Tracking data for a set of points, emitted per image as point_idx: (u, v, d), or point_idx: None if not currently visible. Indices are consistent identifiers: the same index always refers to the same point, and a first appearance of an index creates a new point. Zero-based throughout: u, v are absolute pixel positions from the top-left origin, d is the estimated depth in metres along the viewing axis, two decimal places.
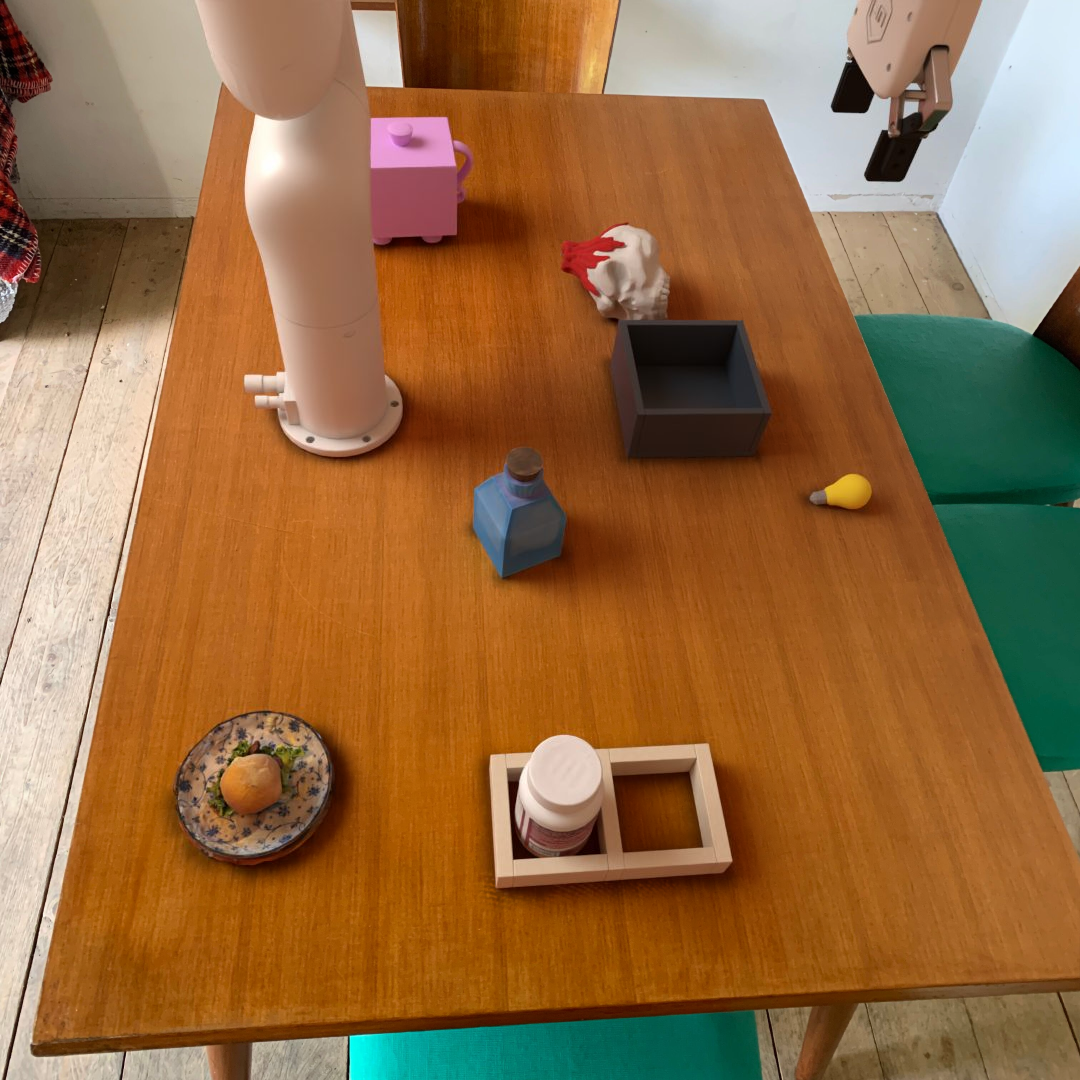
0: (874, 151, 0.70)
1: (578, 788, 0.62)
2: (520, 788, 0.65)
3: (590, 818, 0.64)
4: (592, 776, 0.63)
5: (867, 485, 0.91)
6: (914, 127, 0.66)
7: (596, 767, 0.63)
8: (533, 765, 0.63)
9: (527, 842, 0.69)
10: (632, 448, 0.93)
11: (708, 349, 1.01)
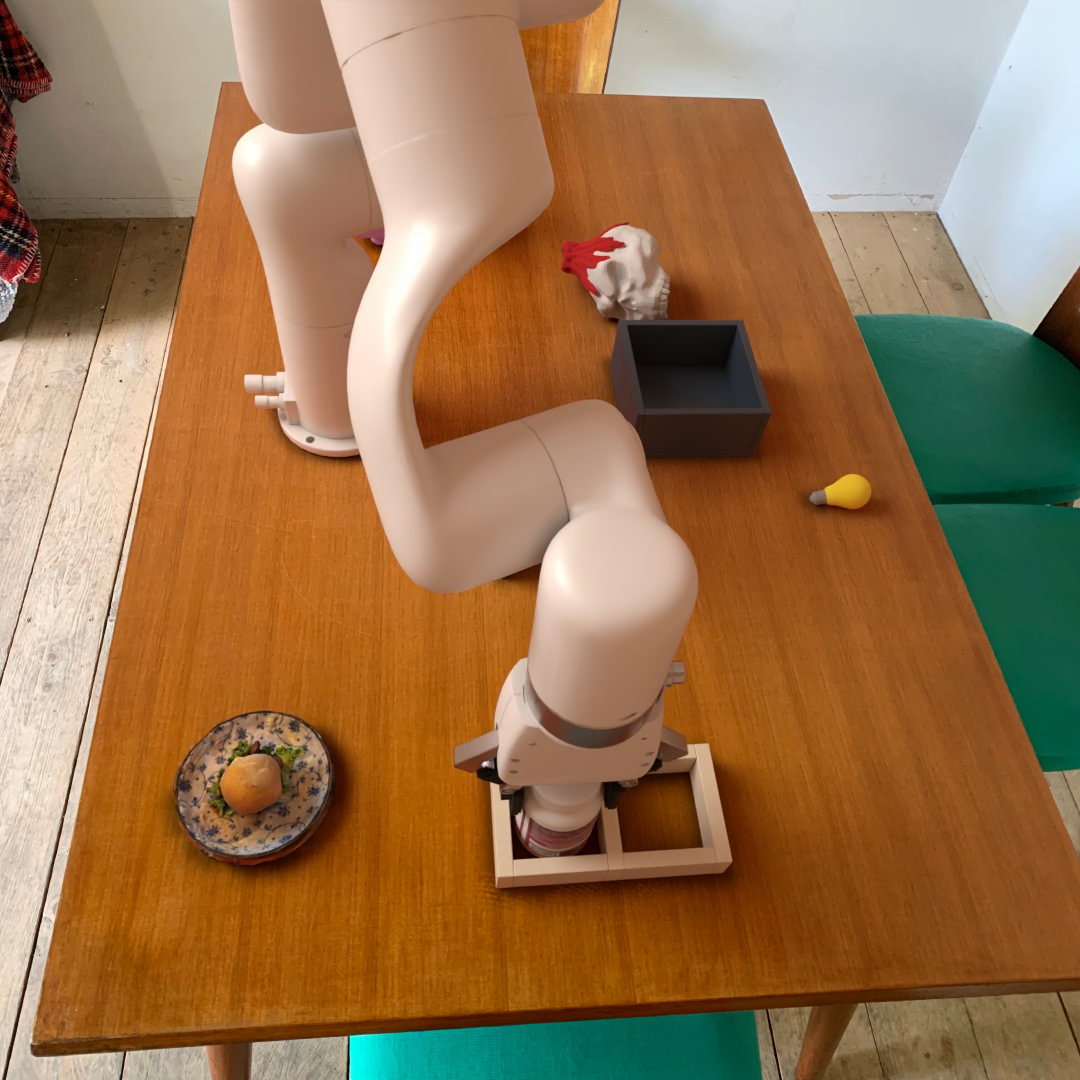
0: None
1: (579, 788, 0.62)
2: None
3: (590, 818, 0.64)
4: None
5: (867, 485, 0.91)
6: None
7: None
8: None
9: (527, 842, 0.69)
10: None
11: (708, 349, 1.01)
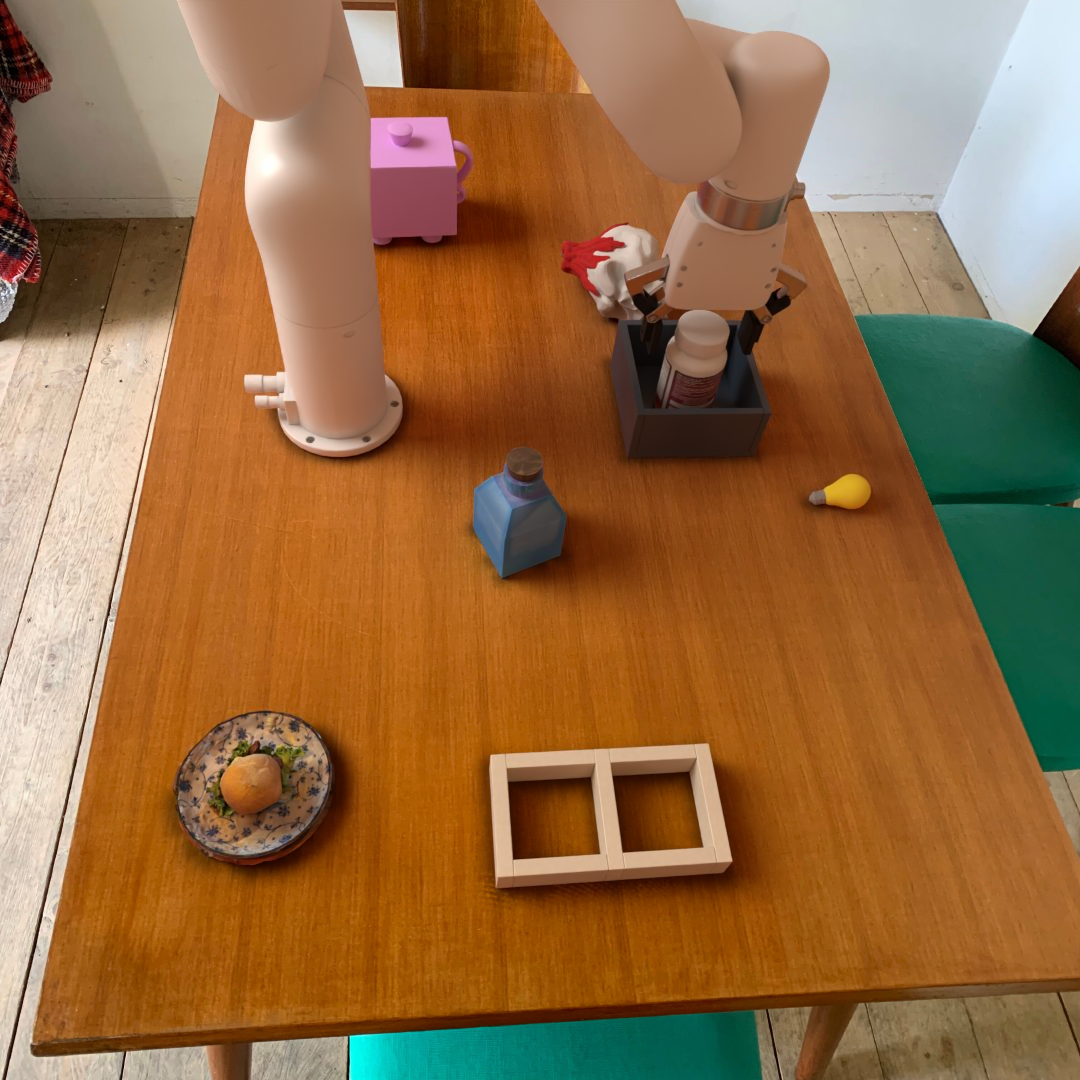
0: None
1: (714, 336, 0.89)
2: (668, 351, 0.92)
3: (719, 369, 0.91)
4: (722, 331, 0.89)
5: (866, 485, 0.91)
6: None
7: (725, 326, 0.90)
8: (681, 324, 0.89)
9: (667, 408, 0.96)
10: (632, 448, 0.93)
11: None
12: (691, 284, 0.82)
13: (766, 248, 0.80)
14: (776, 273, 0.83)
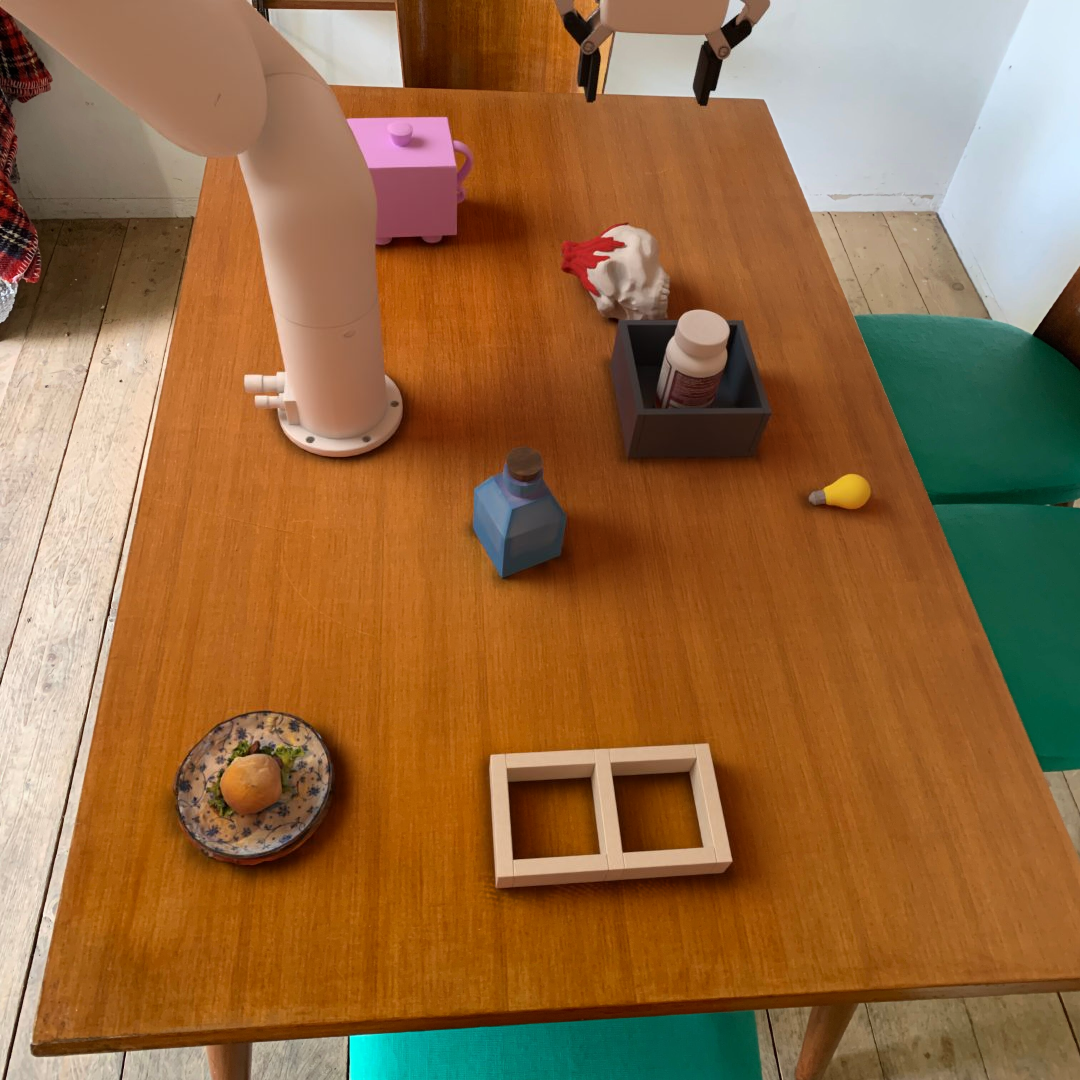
0: None
1: (714, 336, 0.89)
2: (668, 351, 0.92)
3: (719, 368, 0.91)
4: (722, 331, 0.89)
5: (866, 485, 0.91)
6: None
7: (725, 326, 0.90)
8: (681, 323, 0.89)
9: (667, 408, 0.96)
10: (632, 448, 0.93)
11: None
12: None
13: None
14: None
